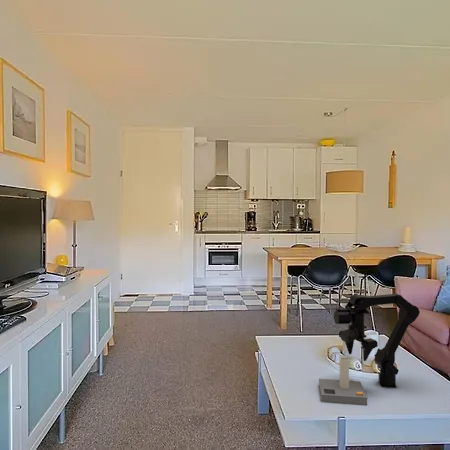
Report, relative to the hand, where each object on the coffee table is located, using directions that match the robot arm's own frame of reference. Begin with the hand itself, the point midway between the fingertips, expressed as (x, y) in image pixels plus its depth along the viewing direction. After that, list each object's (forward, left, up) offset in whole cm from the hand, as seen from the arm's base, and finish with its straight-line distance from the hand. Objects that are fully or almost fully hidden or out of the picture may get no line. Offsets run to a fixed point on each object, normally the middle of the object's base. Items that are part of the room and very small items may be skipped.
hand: (357, 357), depth 179 cm
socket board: (+8, +10, -13) cm, 18 cm away
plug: (+7, +9, -10) cm, 15 cm away
